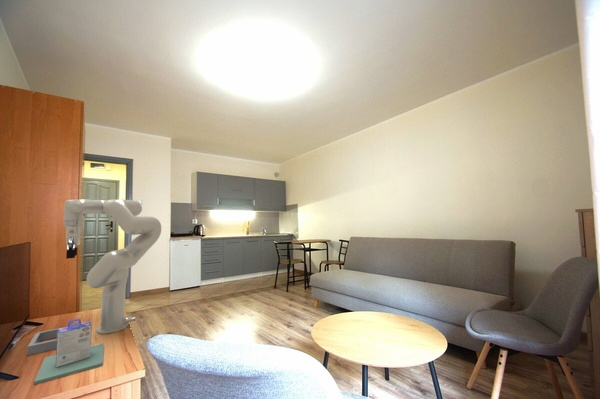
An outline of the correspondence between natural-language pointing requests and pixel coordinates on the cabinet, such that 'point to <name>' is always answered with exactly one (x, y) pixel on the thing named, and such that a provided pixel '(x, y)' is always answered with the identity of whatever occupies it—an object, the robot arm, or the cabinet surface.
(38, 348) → the pocket holder
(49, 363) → the place mat
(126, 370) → the cabinet surface
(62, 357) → the ink cartridge box
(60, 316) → the cabinet surface
